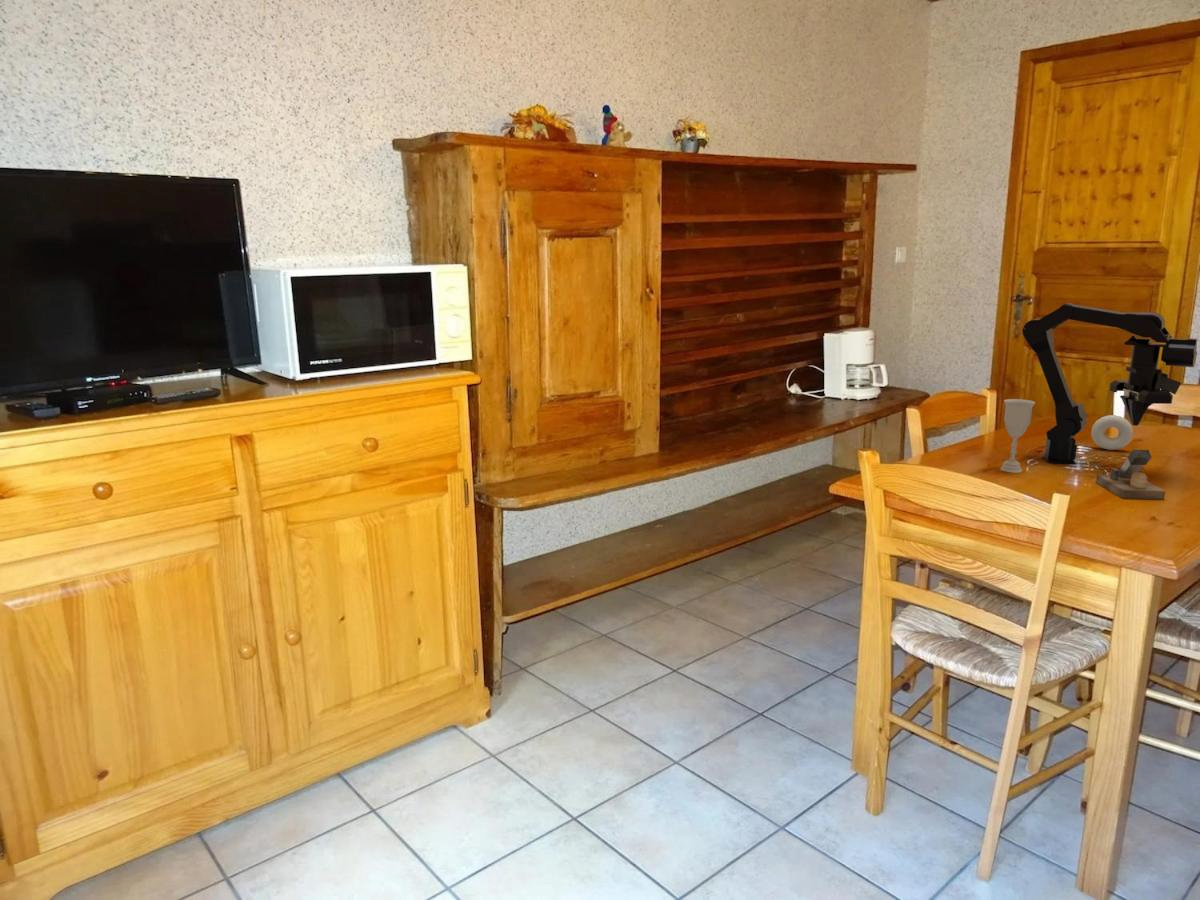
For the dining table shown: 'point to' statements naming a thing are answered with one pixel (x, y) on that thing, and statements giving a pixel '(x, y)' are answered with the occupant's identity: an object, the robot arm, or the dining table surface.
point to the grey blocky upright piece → (1134, 463)
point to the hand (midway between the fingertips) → (1135, 425)
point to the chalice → (1016, 427)
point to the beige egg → (1138, 480)
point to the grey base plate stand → (1128, 487)
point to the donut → (1112, 443)
